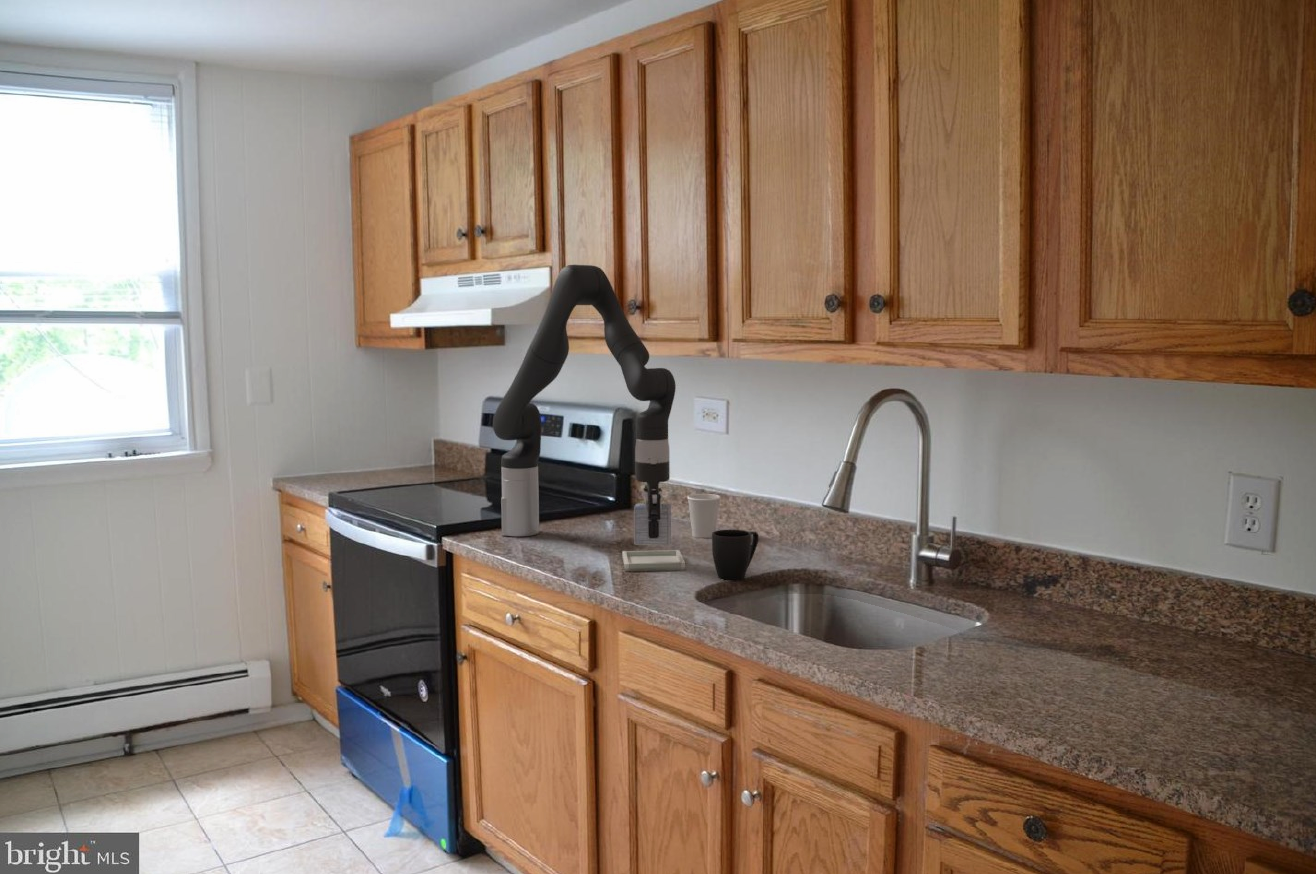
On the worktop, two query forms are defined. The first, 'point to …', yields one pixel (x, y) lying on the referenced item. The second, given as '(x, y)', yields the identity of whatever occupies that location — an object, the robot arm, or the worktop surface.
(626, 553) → the tray
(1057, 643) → the worktop surface
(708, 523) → the dixie cup
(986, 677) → the worktop surface
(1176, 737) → the worktop surface
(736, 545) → the mug
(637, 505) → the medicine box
